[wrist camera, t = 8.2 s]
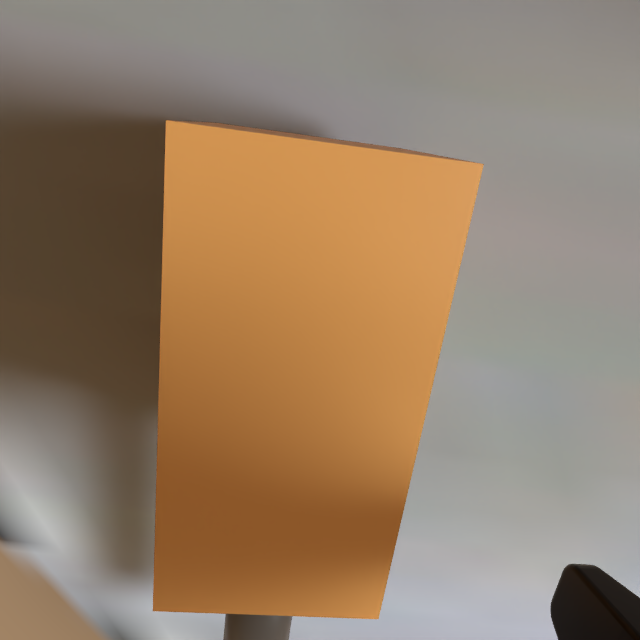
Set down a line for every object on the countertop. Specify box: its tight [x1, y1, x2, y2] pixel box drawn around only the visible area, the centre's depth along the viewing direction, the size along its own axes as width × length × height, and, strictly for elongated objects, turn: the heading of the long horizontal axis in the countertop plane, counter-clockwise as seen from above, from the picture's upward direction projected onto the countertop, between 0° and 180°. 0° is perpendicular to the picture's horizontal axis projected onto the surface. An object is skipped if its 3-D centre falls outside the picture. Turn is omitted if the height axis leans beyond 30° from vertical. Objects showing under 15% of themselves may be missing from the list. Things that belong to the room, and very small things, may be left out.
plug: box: [153, 120, 484, 640], centre depth 11 cm, size 15×4×5 cm, turn 173°
